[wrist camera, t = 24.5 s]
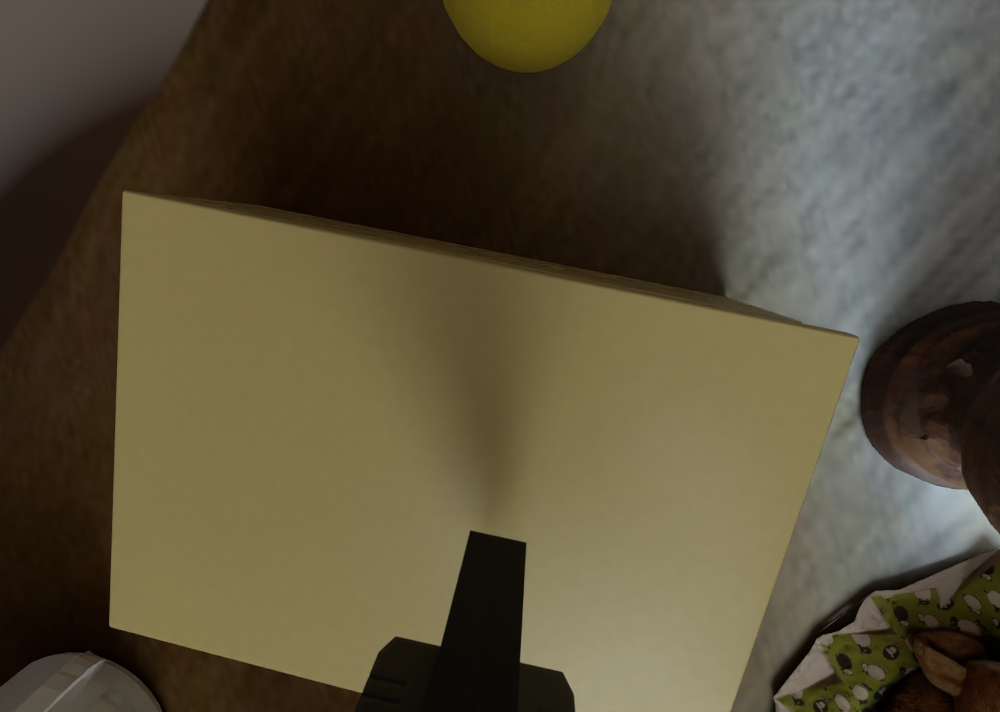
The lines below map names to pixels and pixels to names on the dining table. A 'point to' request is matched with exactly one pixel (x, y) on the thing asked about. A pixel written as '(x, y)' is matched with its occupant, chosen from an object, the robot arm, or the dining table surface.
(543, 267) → the open rectangular box
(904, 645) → the bear figurine
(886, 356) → the mortar and pestle
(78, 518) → the dining table surface
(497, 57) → the lemon
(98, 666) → the mug
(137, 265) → the lid
